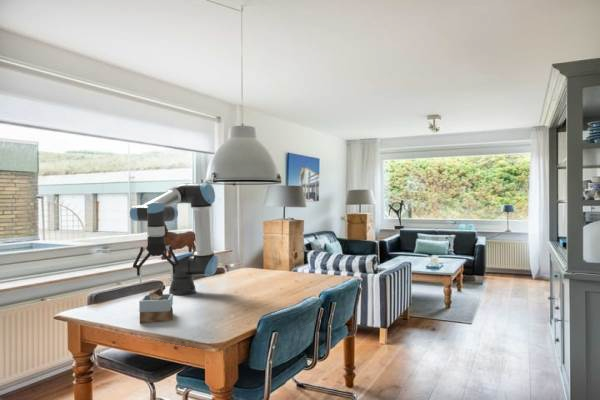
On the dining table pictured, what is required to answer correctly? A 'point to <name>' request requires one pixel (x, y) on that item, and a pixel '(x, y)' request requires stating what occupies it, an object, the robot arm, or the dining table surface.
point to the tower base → (156, 316)
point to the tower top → (156, 304)
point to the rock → (157, 293)
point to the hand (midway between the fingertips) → (156, 281)
